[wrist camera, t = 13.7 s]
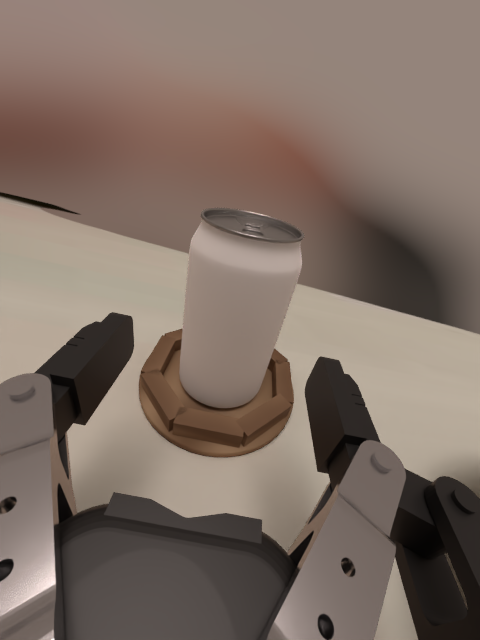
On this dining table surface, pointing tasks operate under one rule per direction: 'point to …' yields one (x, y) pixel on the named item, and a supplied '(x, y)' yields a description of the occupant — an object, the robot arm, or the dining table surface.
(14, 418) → the robot arm
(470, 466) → the dining table surface
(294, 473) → the dining table surface
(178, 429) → the octagonal wooden coaster
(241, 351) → the can
